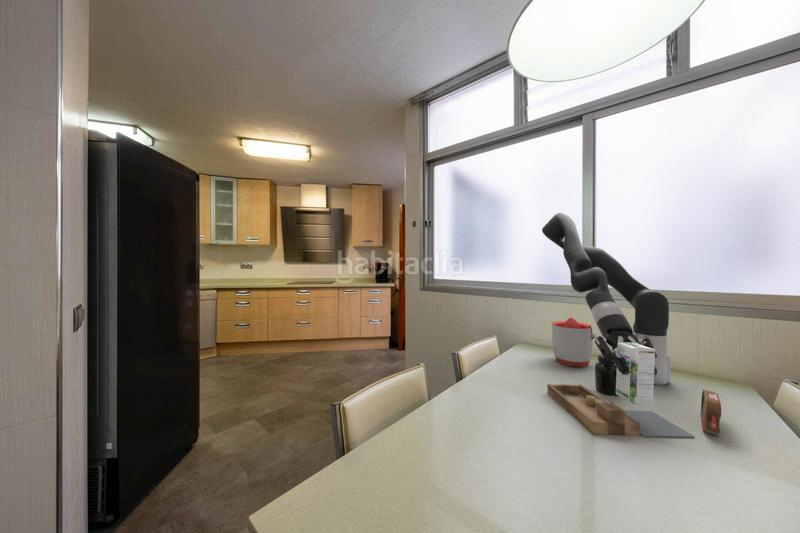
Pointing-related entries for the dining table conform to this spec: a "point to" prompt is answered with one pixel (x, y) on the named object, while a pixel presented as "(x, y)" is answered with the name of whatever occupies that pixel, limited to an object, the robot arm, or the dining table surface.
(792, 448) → the dining table surface
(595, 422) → the body
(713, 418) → the tin
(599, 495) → the dining table surface
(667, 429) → the mat
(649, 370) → the syrup box
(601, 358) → the supplement bottle
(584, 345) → the citrus juicer
